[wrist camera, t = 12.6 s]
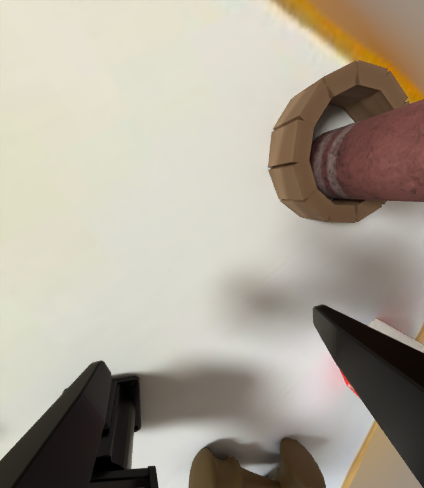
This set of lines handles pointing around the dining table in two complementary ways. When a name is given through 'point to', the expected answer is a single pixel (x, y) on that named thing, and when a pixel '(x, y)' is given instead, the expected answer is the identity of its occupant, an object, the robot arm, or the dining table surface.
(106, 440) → the robot arm
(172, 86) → the dining table surface
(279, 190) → the walnut ring
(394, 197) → the can
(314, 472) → the kendama
